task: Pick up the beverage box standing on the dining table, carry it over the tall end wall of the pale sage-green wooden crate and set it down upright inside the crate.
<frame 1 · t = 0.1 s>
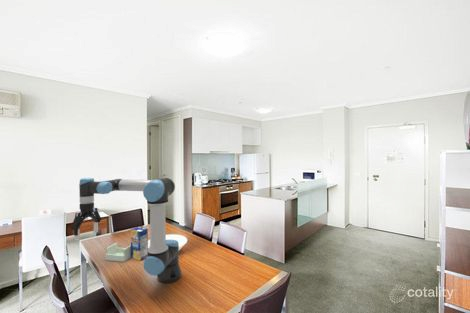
hand: (87, 236, 134), 28 cm above the table, fingers open, 13 cm apart
beverage box: (139, 257, 164), on the table
crate: (120, 257, 164), on the table
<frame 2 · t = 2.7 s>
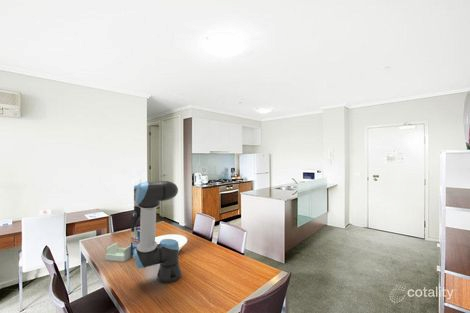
hand: (139, 232, 164), 19 cm above the table, fingers open, 13 cm apart
nothing on the table moved.
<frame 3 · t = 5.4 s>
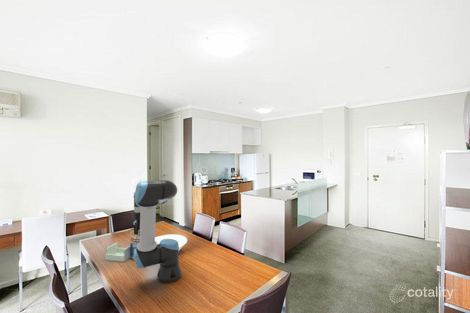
hand: (139, 242, 163), 12 cm above the table, fingers closed on beverage box, 2 cm apart
beverage box: (139, 257, 163), on the table, touching gripper, hand
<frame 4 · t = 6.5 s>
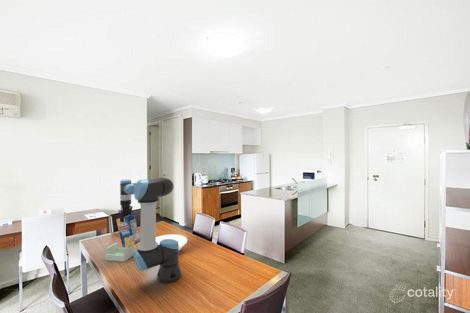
hand: (125, 229, 165), 21 cm above the table, fingers closed on beverage box, 2 cm apart
beverage box: (131, 244, 164), point 10 cm above the table, touching gripper
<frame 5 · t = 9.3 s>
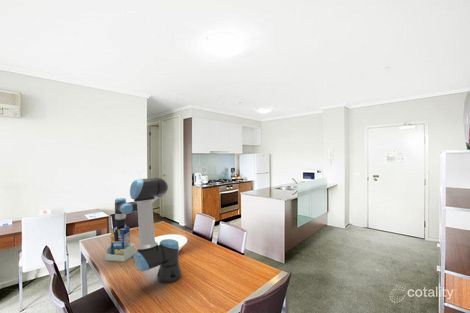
hand: (120, 248, 164), 7 cm above the table, fingers open, 2 cm apart
beverage box: (120, 256, 164), point 1 cm above the table, touching crate
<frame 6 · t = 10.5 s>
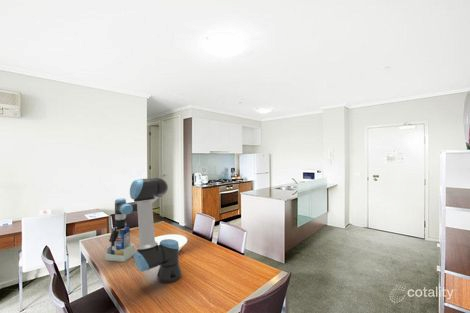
hand: (120, 246, 164), 9 cm above the table, fingers open, 13 cm apart
nothing on the table moved.
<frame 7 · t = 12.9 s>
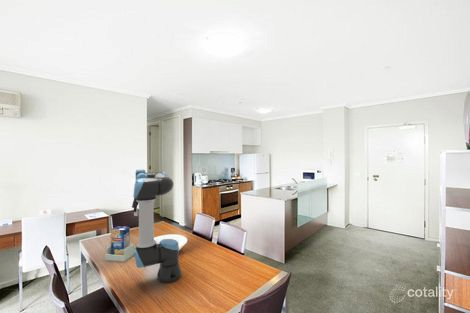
hand: (140, 213, 176), 31 cm above the table, fingers open, 13 cm apart
nothing on the table moved.
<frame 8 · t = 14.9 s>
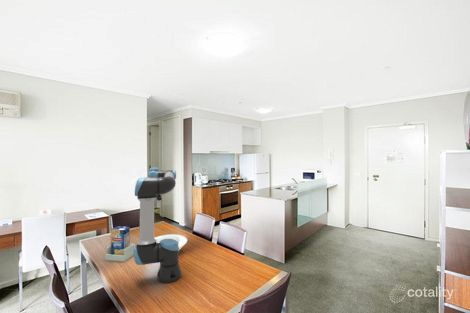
hand: (154, 209, 186), 32 cm above the table, fingers open, 13 cm apart
nothing on the table moved.
at the end: beverage box inside the target area on the crate (0.1 cm from its centre), point 0.6 cm above the crate's base; beverage box tilted 0°; the gripper is holding nothing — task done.
